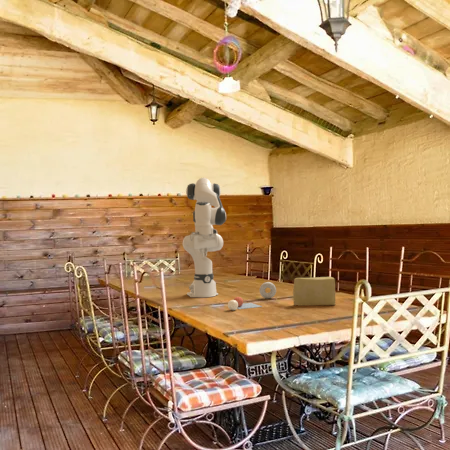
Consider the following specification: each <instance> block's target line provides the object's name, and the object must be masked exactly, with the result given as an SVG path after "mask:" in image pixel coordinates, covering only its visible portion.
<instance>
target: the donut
mask: <svg viewBox="0 0 450 450" xmlns="http://www.w3.org/2000/svg"><path fill="white" fill-rule="evenodd" d="M268 288H269V289H270V292H266V289H268ZM276 293H277V287H276V286H275V284H274V283H273V282H270V281H267V282H263V283H262V284H261V285H260V287H259V294H260V295H261V297H263V298H264V299H272V298H273V297H274V296H275V295H276Z"/></svg>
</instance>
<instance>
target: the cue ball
mask: <svg viewBox="0 0 450 450" xmlns="http://www.w3.org/2000/svg"><path fill="white" fill-rule="evenodd" d="M227 308H228V309H229V310H230V311H236V310H238V309H237V308H238V302H237V301H235V300H234V299H231V300H229V301H228V303H227Z"/></svg>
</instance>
